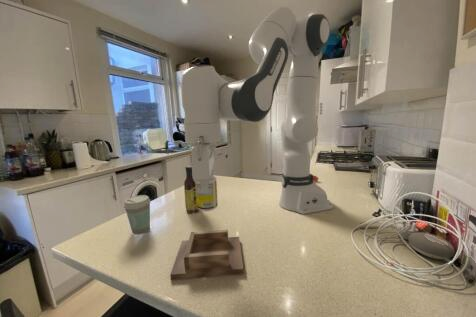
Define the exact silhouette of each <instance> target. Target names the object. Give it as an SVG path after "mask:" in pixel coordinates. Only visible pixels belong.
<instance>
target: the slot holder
mask: <svg viewBox="0 0 476 317" xmlns="http://www.w3.org/2000/svg"><path fill="white" fill-rule="evenodd" d="M240 240H241V239H240V236H230V237H229V230H228V229H220V230H206V231H205V230H204V231H192V232H190V234H189V238H188V240H181V242H180V245H179V248H178V252H177V255H176V258H175V259H174V263H173V266H172V269H171V271H170V274H169V275H170V276H169V277H170V281H175V280H186V279H187V280H188V279H199V278H209V277H210V278H211V277H222V276H235V275H236V276H237V275H244V265H243V264H244V263H243V257H242V249H241V241H240Z"/></svg>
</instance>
